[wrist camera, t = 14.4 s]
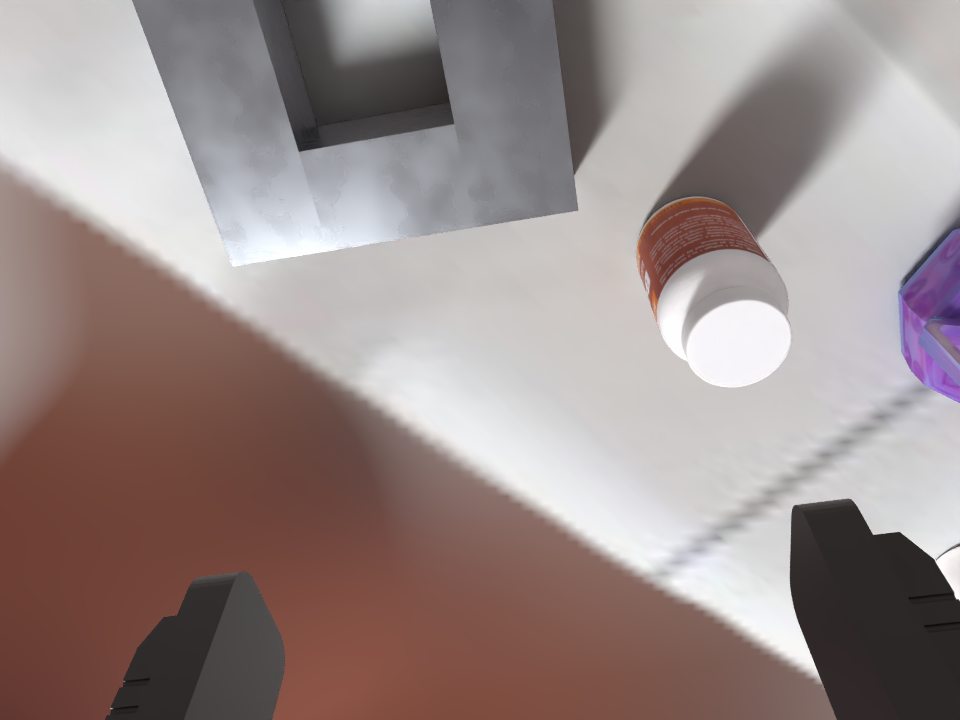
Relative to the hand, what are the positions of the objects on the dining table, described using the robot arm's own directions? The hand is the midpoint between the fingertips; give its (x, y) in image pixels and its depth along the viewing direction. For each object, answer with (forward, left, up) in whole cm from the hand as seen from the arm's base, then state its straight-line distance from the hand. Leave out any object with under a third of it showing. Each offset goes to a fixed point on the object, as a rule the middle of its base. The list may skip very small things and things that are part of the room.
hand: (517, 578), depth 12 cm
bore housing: (-3, -6, -33) cm, 34 cm away
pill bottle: (+11, +9, -34) cm, 36 cm away
